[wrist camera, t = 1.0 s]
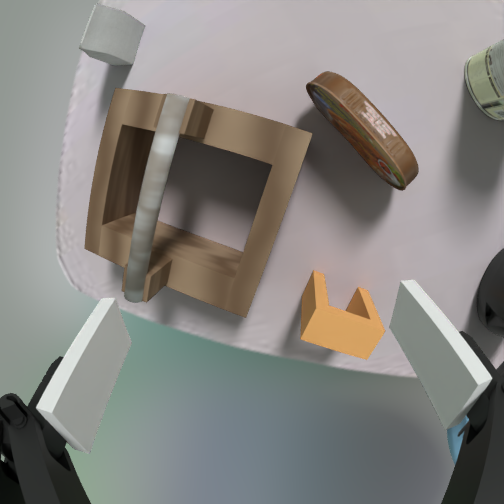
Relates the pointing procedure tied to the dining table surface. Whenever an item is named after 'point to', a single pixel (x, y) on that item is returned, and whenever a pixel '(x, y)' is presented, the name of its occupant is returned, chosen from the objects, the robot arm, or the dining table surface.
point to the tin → (364, 128)
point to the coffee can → (487, 80)
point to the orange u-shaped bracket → (339, 320)
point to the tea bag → (112, 36)
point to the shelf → (170, 241)
